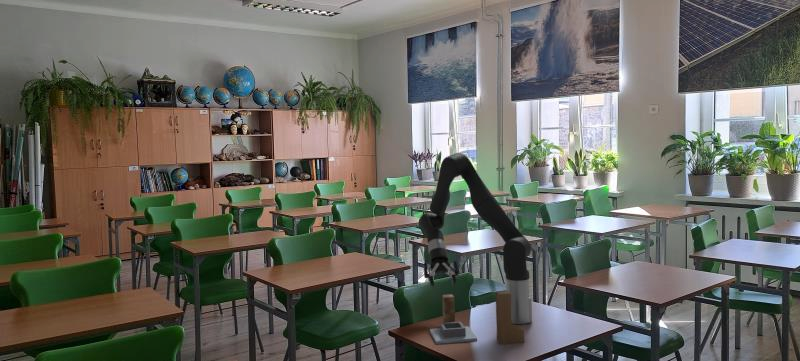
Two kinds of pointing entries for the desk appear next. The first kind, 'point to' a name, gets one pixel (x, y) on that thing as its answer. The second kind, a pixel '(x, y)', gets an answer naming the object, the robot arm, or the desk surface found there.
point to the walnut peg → (448, 308)
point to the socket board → (452, 333)
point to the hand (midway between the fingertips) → (443, 285)
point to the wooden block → (506, 320)
